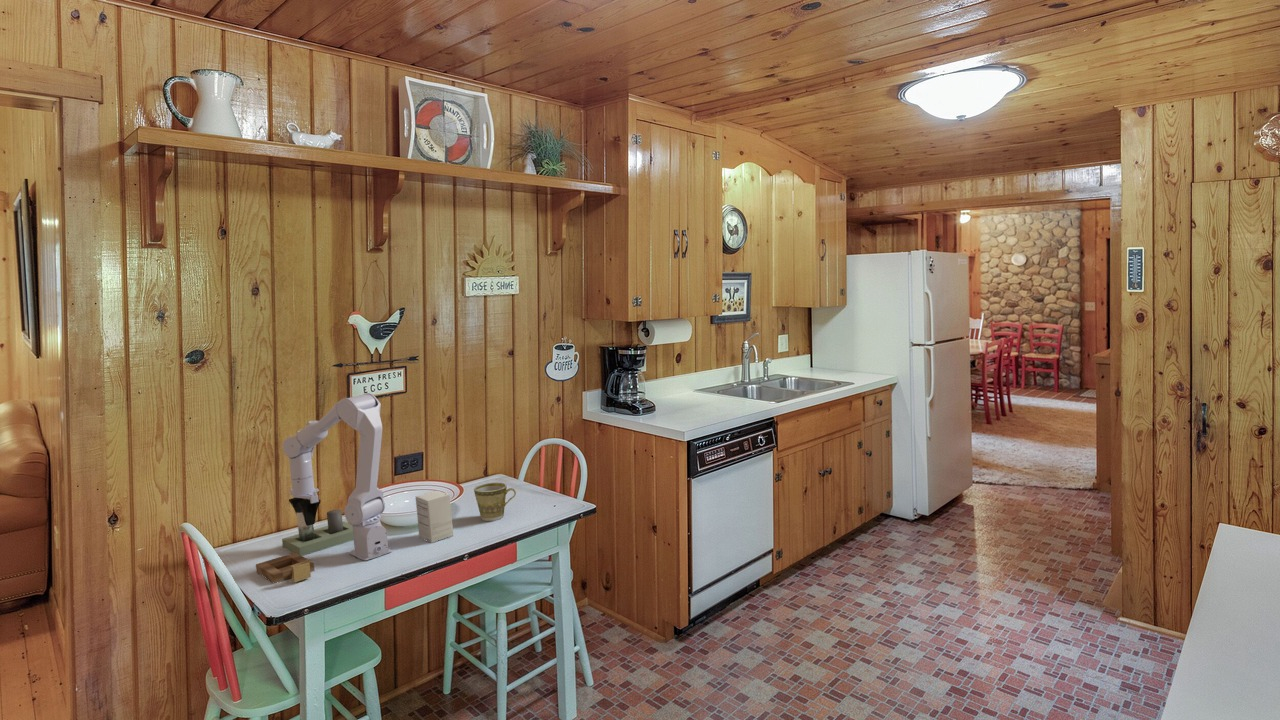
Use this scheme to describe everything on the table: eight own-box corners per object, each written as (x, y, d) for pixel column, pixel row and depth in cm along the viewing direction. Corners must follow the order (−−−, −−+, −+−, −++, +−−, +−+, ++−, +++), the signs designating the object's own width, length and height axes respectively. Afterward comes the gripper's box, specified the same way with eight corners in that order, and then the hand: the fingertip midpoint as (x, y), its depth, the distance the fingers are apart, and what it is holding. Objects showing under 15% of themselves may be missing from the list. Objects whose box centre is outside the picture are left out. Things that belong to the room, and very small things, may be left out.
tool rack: (362, 537, 209) (359, 510, 208) (300, 556, 195) (297, 528, 195) (343, 529, 217) (341, 503, 216) (282, 547, 203) (280, 520, 203)
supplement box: (441, 530, 211) (437, 489, 209) (454, 536, 205) (450, 494, 204) (418, 538, 205) (414, 495, 204) (430, 543, 200) (427, 500, 199)
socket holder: (314, 570, 185) (313, 562, 184) (274, 583, 177) (273, 575, 177) (295, 560, 193) (294, 552, 192) (256, 572, 185) (255, 564, 185)
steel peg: (313, 539, 201) (309, 512, 200) (298, 541, 200) (294, 514, 199) (316, 535, 205) (313, 508, 204) (301, 537, 204) (298, 510, 203)
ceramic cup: (471, 523, 216) (469, 491, 215) (482, 512, 226) (480, 482, 225) (512, 523, 214) (510, 491, 213) (521, 512, 224) (519, 481, 223)
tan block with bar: (310, 577, 179) (309, 561, 179) (294, 582, 176) (293, 567, 176) (297, 569, 185) (295, 554, 184) (281, 574, 182) (279, 559, 181)
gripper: (327, 477, 199) (331, 523, 200) (305, 470, 209) (310, 514, 210) (301, 483, 194) (306, 531, 195) (280, 475, 204) (285, 521, 205)
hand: (306, 523), depth 202 cm, fingers open, 4 cm apart
